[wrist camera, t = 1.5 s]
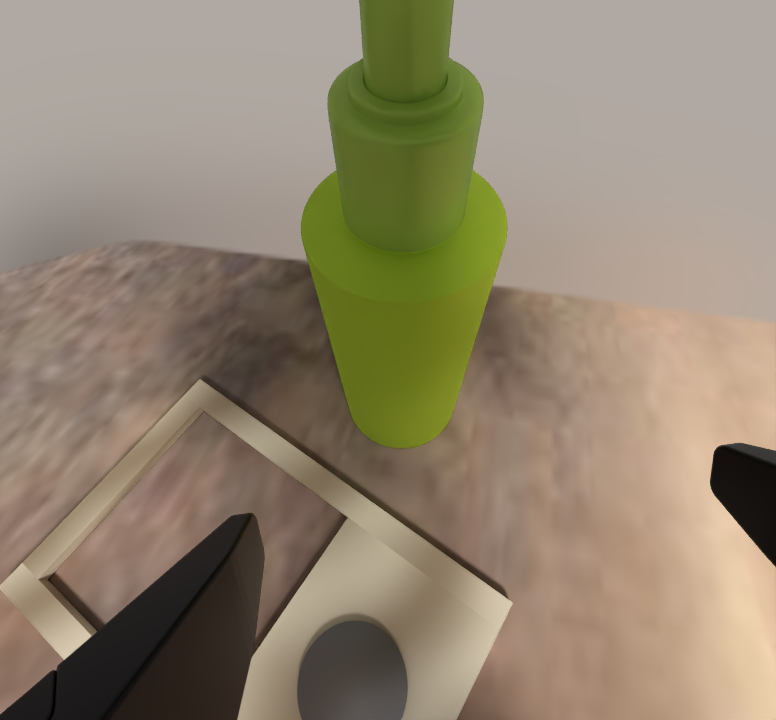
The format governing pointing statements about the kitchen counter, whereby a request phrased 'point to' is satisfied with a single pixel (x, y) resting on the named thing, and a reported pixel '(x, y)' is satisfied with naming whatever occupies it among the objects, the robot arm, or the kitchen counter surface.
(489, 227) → the soap dispenser
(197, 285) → the kitchen counter surface
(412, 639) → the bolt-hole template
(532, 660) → the kitchen counter surface
